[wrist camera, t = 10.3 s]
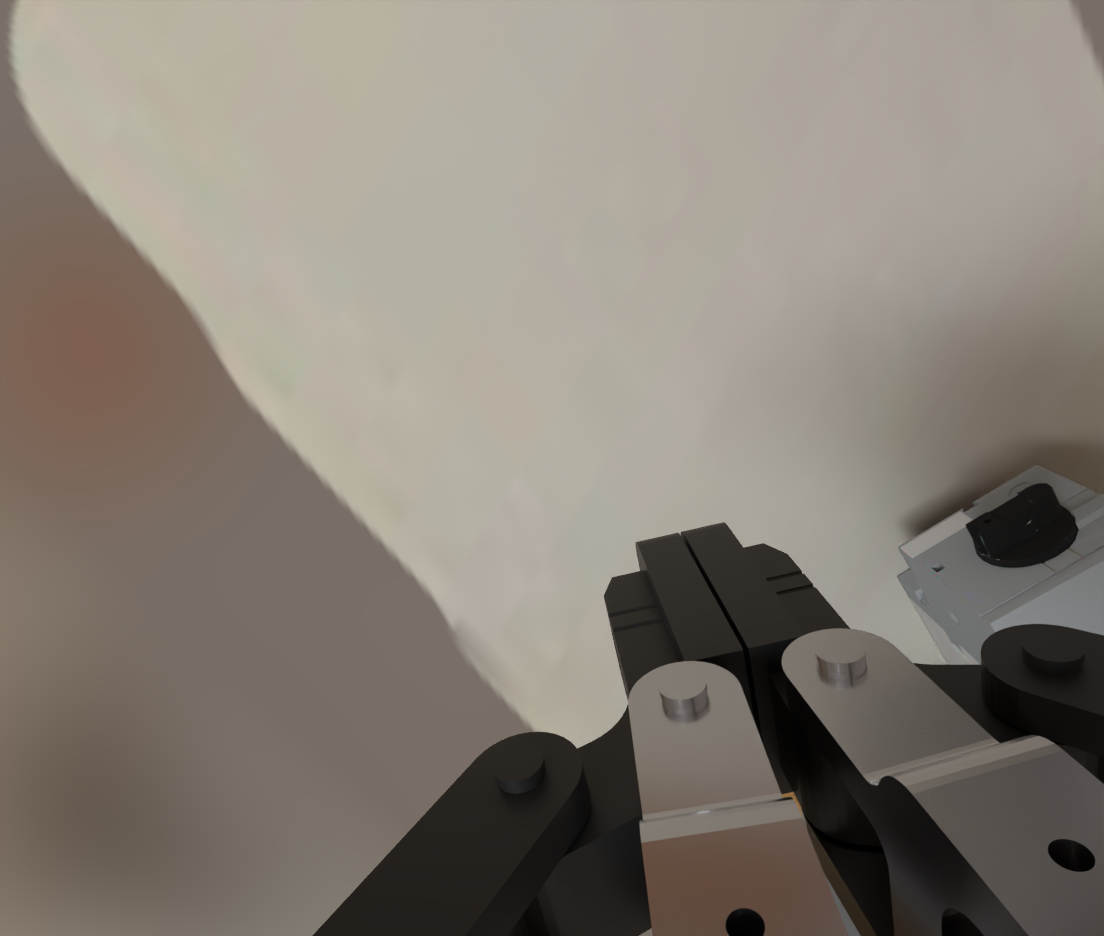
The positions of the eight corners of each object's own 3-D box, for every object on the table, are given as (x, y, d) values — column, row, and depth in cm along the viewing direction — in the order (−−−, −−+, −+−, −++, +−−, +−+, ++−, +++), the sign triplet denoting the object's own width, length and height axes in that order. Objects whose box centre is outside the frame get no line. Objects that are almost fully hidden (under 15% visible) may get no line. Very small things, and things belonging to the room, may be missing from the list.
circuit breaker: (974, 415, 38) (1247, 531, 24) (1069, 609, 43) (1348, 804, 29) (848, 493, 39) (1040, 647, 25) (953, 675, 44) (1167, 894, 30)
